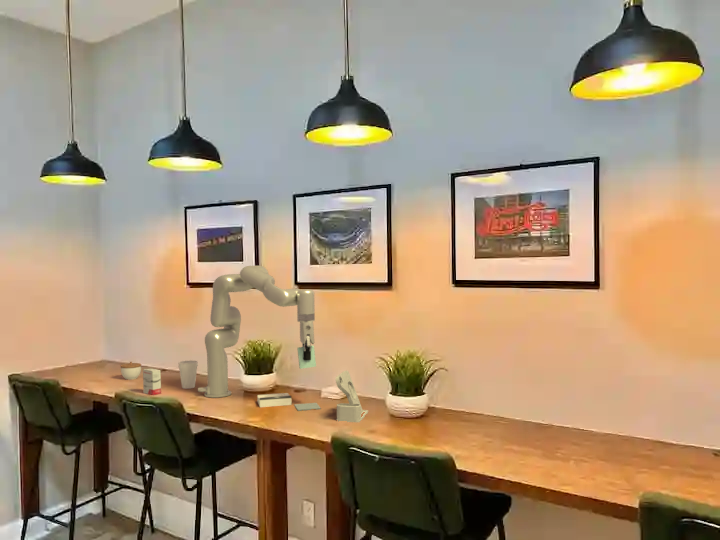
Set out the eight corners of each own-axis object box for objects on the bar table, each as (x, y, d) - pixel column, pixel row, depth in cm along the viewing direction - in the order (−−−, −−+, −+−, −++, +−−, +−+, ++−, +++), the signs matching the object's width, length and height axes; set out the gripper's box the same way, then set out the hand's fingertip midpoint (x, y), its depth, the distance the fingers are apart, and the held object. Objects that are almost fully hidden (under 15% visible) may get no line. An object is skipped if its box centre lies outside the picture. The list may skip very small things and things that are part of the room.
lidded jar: (121, 377, 336) (121, 360, 336) (141, 376, 340) (141, 359, 339) (120, 381, 326) (119, 363, 326) (141, 379, 329) (140, 362, 329)
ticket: (300, 368, 261) (298, 348, 261) (299, 367, 264) (297, 347, 263) (316, 366, 263) (313, 346, 263) (315, 365, 266) (312, 345, 265)
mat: (297, 410, 258) (297, 409, 257) (294, 405, 267) (294, 404, 267) (320, 409, 260) (320, 407, 260) (316, 403, 270) (316, 402, 270)
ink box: (161, 393, 294) (161, 369, 294) (152, 395, 290) (152, 371, 290) (151, 391, 300) (151, 367, 299) (142, 393, 296) (142, 369, 296)
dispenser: (259, 407, 265) (259, 398, 265) (257, 401, 275) (257, 392, 275) (291, 404, 268) (291, 395, 268) (287, 399, 279) (287, 390, 279)
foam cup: (175, 388, 305) (174, 363, 305) (185, 384, 314) (185, 360, 314) (191, 389, 302) (191, 363, 302) (201, 385, 311) (201, 360, 311)
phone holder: (359, 422, 238) (359, 377, 238) (334, 421, 240) (334, 376, 240) (368, 411, 255) (368, 369, 255) (345, 410, 257) (345, 368, 257)
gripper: (318, 319, 256) (318, 362, 257) (311, 315, 272) (311, 356, 272) (300, 319, 254) (301, 363, 255) (294, 316, 270) (295, 357, 270)
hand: (306, 359), depth 263 cm, fingers closed on ticket, 2 cm apart
